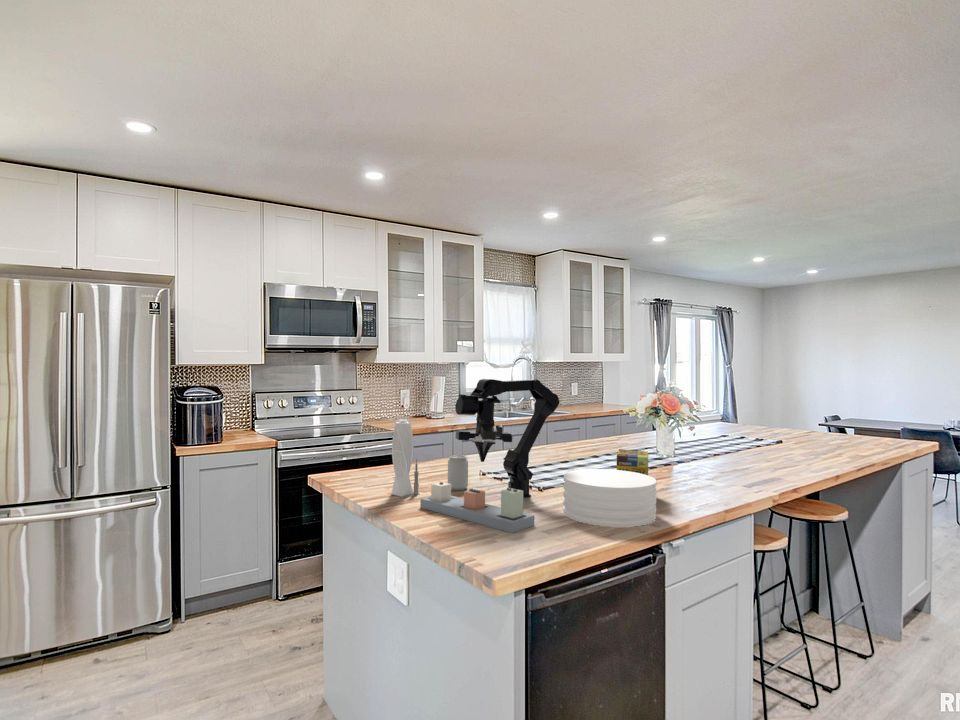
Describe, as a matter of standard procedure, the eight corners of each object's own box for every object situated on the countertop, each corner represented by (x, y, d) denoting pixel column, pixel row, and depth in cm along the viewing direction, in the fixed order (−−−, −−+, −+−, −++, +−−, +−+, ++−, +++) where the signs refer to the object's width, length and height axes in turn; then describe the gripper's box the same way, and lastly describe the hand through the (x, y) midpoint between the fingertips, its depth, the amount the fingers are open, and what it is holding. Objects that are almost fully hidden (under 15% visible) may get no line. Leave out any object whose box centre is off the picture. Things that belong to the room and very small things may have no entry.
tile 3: (463, 514, 164) (464, 489, 164) (473, 511, 167) (474, 487, 167) (474, 517, 161) (475, 492, 161) (484, 514, 164) (485, 489, 164)
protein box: (615, 500, 185) (616, 455, 185) (618, 491, 200) (618, 448, 200) (647, 503, 182) (648, 457, 182) (647, 493, 197) (648, 450, 197)
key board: (420, 507, 173) (420, 498, 173) (443, 502, 180) (443, 493, 180) (512, 533, 148) (512, 522, 148) (534, 525, 155) (534, 515, 155)
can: (465, 491, 196) (465, 458, 196) (445, 490, 198) (445, 457, 198) (469, 487, 203) (470, 454, 203) (450, 485, 205) (450, 454, 205)
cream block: (431, 506, 174) (431, 482, 174) (441, 503, 177) (441, 480, 177) (440, 508, 171) (441, 484, 171) (450, 505, 174) (451, 482, 174)
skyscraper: (402, 499, 184) (403, 417, 185) (386, 495, 189) (387, 415, 190) (419, 495, 191) (420, 415, 191) (403, 491, 196) (404, 413, 196)
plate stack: (544, 513, 169) (545, 476, 169) (595, 498, 188) (596, 465, 188) (625, 534, 149) (625, 492, 149) (672, 515, 168) (673, 478, 168)
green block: (500, 515, 154) (501, 488, 154) (510, 512, 158) (511, 486, 158) (513, 518, 151) (513, 491, 151) (523, 515, 155) (523, 488, 155)
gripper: (463, 416, 175) (460, 464, 174) (518, 419, 179) (515, 466, 179) (456, 413, 186) (453, 459, 185) (508, 416, 190) (506, 461, 189)
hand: (482, 461), depth 184 cm, fingers closed
